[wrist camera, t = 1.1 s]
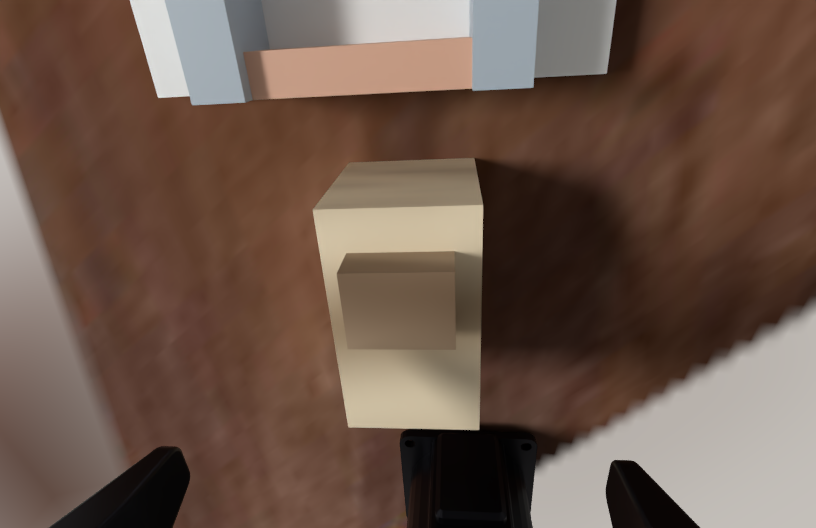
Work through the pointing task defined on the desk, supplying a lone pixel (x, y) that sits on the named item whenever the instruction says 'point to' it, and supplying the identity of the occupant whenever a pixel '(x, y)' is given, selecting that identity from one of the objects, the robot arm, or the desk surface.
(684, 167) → the desk surface
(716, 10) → the desk surface
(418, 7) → the jig
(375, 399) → the stepped cream block
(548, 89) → the desk surface
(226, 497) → the desk surface
